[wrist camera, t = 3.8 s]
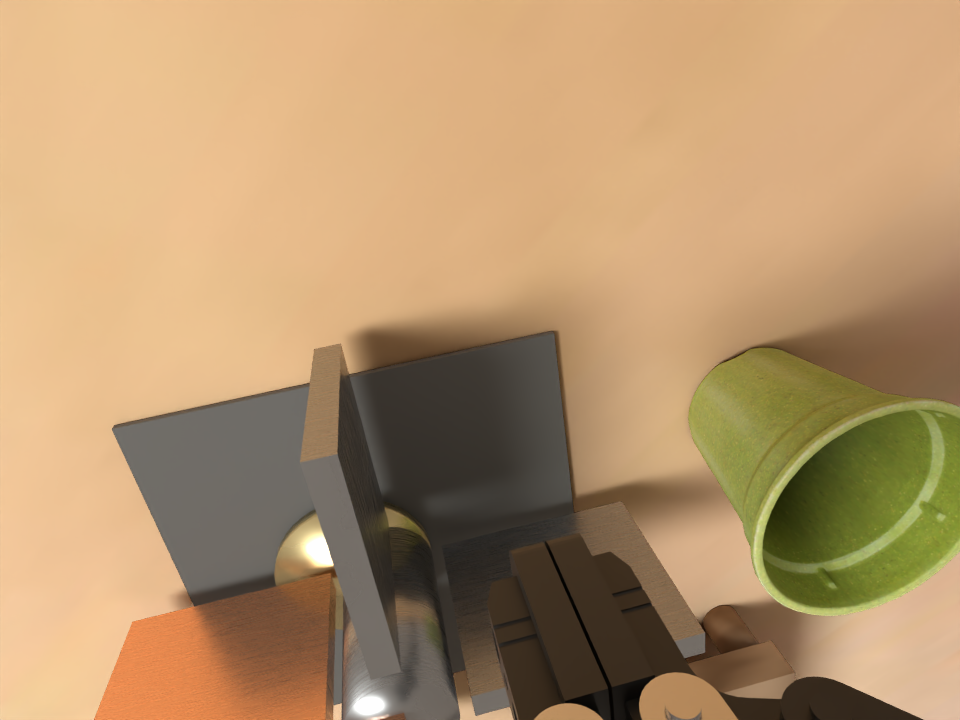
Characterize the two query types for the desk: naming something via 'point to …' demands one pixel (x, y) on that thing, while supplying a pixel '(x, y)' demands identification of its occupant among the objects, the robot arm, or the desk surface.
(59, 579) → the desk surface
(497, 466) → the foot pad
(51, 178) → the desk surface
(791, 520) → the plant pot
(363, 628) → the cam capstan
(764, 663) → the level stand
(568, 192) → the desk surface
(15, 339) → the desk surface
